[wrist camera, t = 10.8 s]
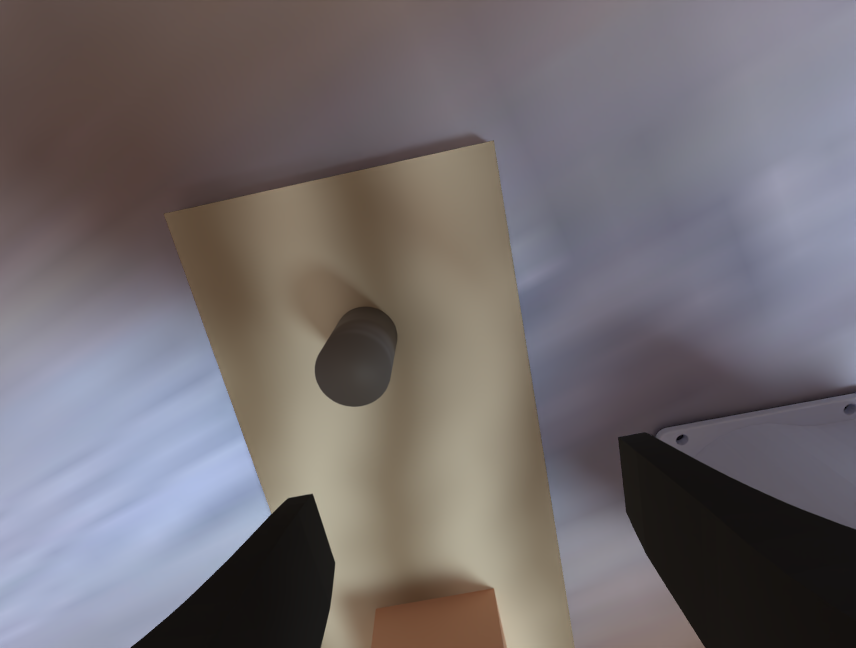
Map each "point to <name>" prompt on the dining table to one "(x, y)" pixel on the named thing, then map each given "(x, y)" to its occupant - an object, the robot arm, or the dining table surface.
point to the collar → (441, 623)
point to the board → (439, 402)
